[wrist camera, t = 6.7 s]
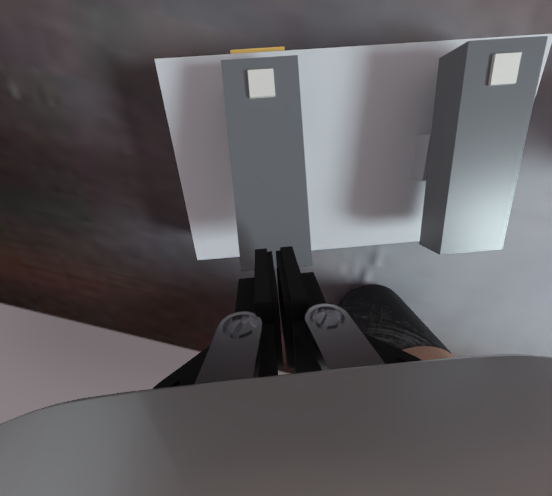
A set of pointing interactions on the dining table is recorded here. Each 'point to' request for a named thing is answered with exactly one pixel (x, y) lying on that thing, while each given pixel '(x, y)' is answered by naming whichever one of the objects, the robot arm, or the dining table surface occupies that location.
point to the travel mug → (392, 322)
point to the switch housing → (318, 140)
